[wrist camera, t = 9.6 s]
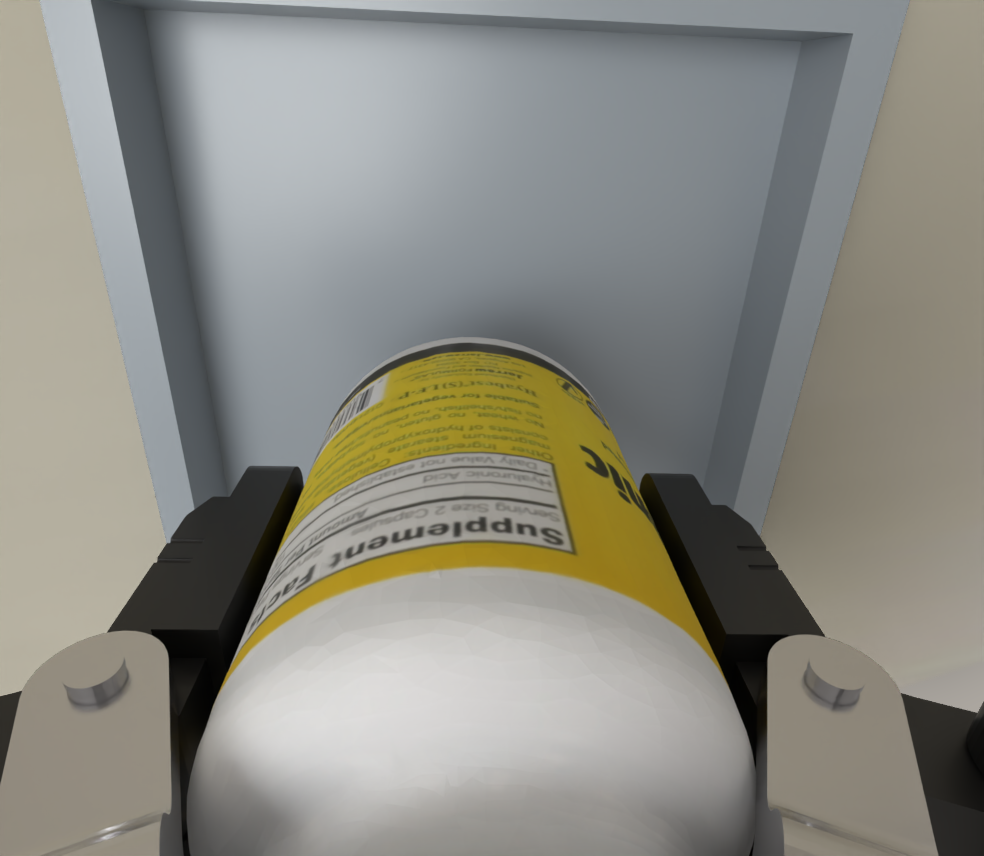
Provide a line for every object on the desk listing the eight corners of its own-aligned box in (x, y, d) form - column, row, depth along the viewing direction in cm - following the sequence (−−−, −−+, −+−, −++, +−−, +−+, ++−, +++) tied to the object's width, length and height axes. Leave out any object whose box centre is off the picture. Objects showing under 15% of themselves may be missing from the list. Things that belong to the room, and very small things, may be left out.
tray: (104, -41, 12) (23, -70, 10) (837, -3, 13) (916, -23, 10) (229, 612, 19) (198, 679, 17) (691, 616, 20) (719, 681, 18)
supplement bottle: (618, 558, 14) (891, 1395, 5) (361, 588, 14) (173, 1454, 5) (607, 306, 11) (1122, 1083, 2) (294, 347, 11) (-312, 1218, 2)
